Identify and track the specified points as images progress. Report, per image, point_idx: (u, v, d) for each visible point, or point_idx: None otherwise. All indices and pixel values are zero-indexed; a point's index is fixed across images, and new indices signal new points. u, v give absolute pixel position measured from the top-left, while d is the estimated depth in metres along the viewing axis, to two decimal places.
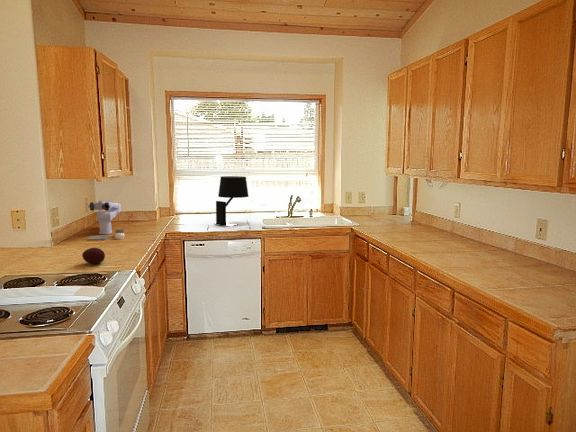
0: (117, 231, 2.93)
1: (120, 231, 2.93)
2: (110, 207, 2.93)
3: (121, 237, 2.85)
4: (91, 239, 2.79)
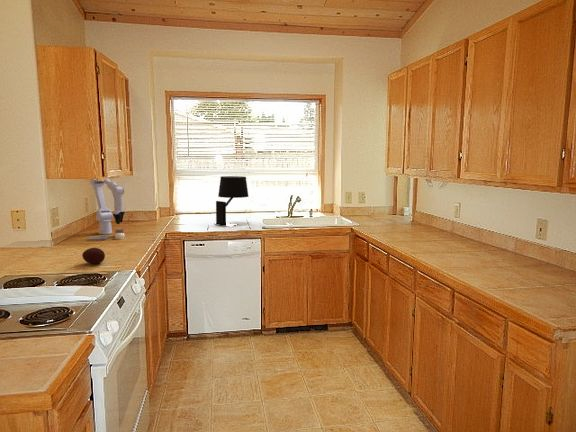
0: (117, 231, 2.93)
1: (120, 231, 2.93)
2: None
3: (121, 237, 2.85)
4: (91, 239, 2.79)
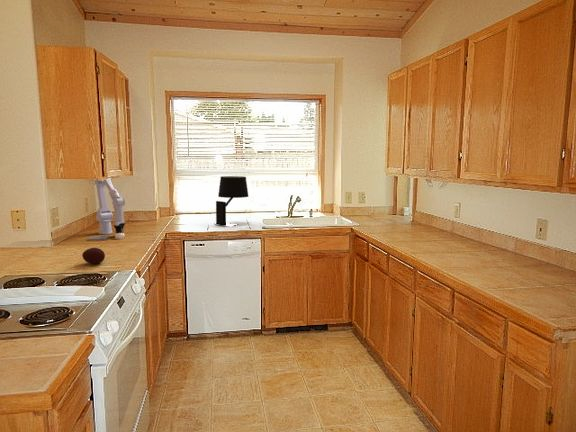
0: None
1: None
2: None
3: (121, 237, 2.85)
4: (91, 239, 2.79)
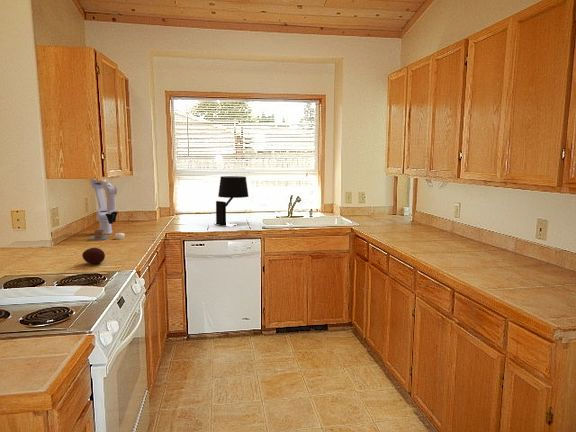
0: (96, 232, 2.83)
1: (99, 232, 2.83)
2: None
3: (121, 237, 2.85)
4: (91, 239, 2.79)
